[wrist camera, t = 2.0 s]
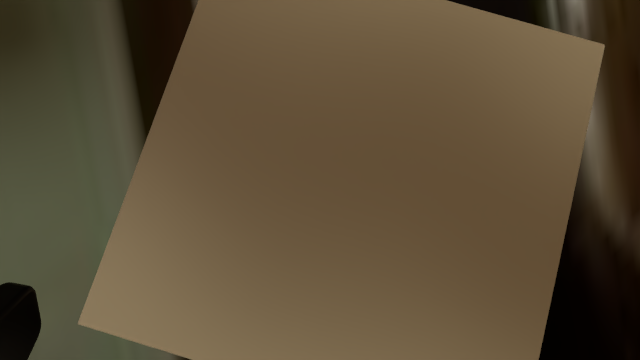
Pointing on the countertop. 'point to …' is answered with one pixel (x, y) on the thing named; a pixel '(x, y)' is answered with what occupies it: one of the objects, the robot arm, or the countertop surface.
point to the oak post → (351, 185)
